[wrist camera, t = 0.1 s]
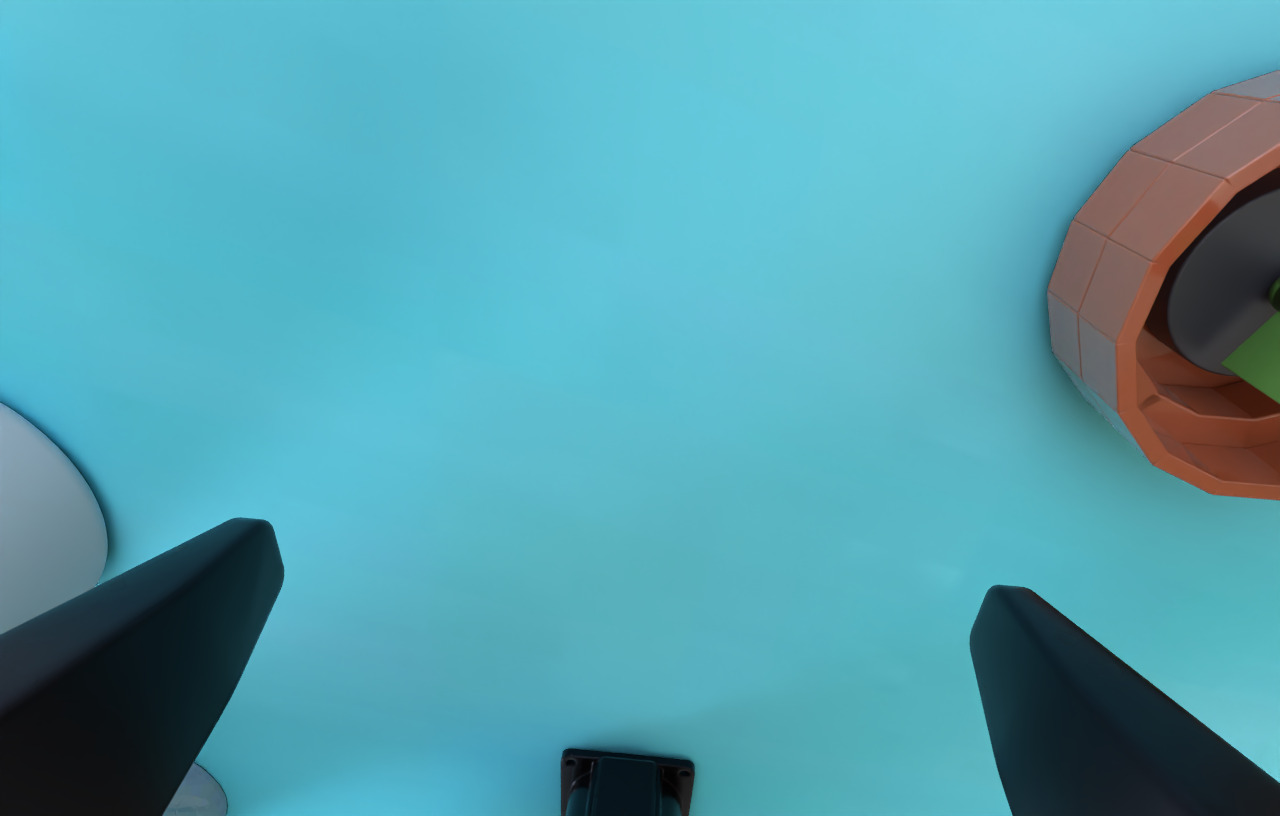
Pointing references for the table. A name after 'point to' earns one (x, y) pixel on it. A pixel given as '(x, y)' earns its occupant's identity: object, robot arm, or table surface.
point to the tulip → (1229, 292)
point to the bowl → (1132, 276)
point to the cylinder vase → (43, 525)
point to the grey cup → (198, 796)
